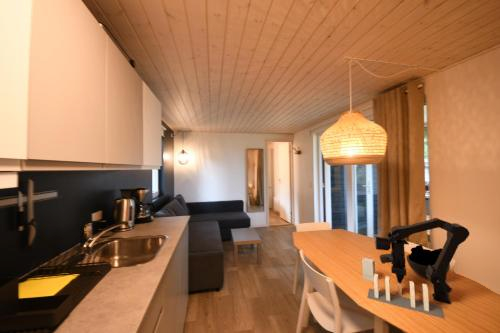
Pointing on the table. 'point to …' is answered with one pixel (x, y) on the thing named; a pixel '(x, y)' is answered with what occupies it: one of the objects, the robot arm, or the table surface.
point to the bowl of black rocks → (423, 259)
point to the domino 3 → (399, 288)
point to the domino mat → (407, 303)
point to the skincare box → (368, 269)
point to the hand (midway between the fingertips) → (399, 280)
